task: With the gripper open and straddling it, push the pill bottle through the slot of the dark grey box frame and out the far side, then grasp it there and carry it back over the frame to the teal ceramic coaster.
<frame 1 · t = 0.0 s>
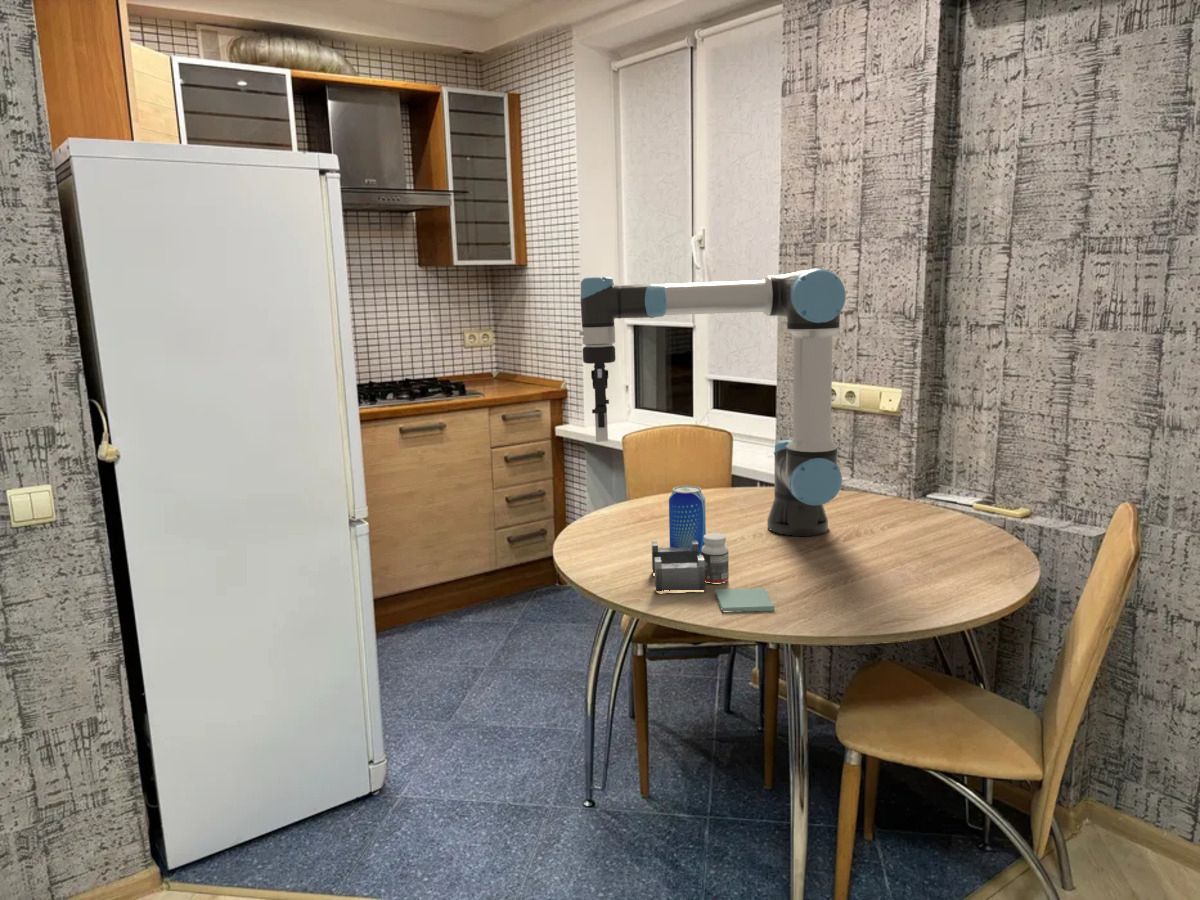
hand: (602, 436, 197), 28 cm above the table, fingers open, 13 cm apart
coaster: (744, 602, 166), on the table
pill bottle: (715, 581, 179), on the table
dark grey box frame: (677, 581, 179), on the table
beer can: (687, 556, 197), on the table
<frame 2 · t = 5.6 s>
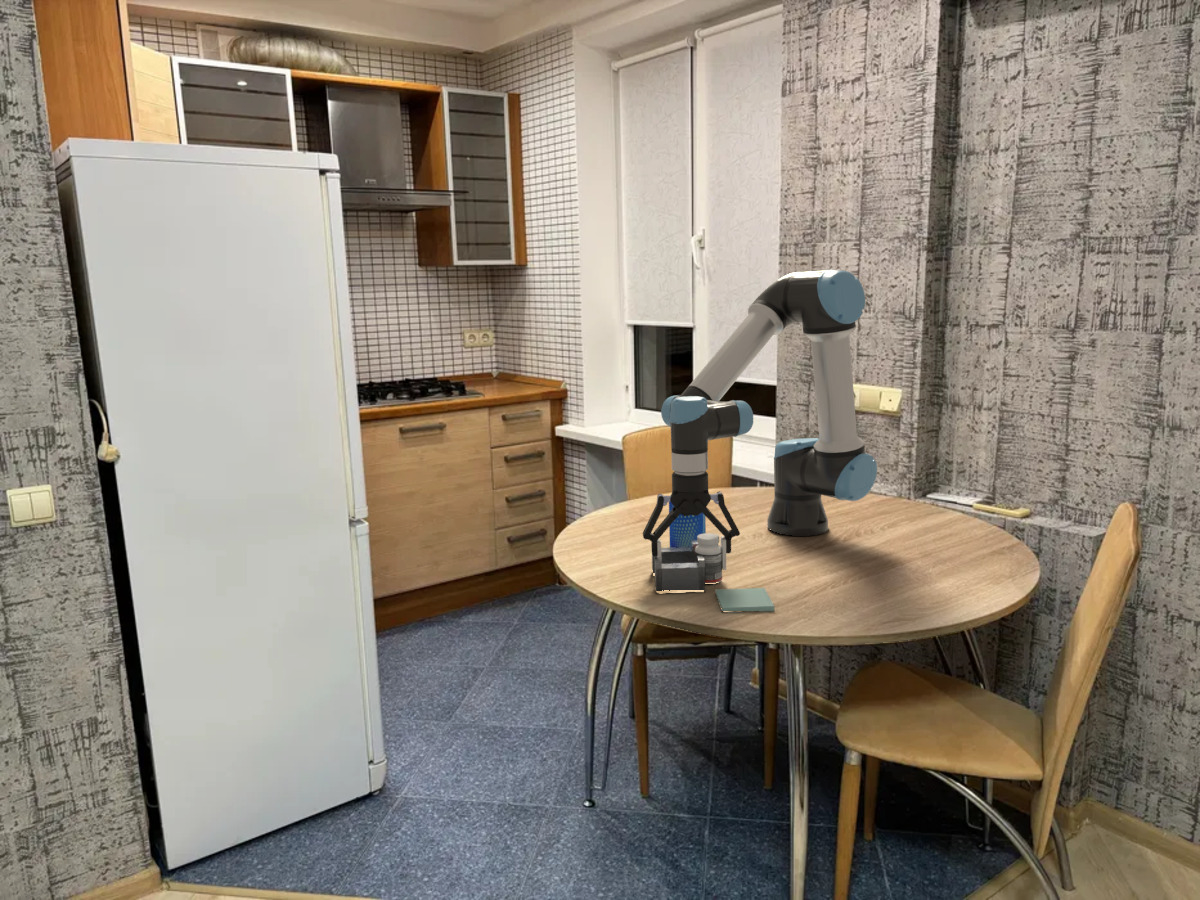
hand: (691, 569, 178), 3 cm above the table, fingers open, 13 cm apart
pill bottle: (708, 581, 179), on the table, touching gripper
everything else where it was.
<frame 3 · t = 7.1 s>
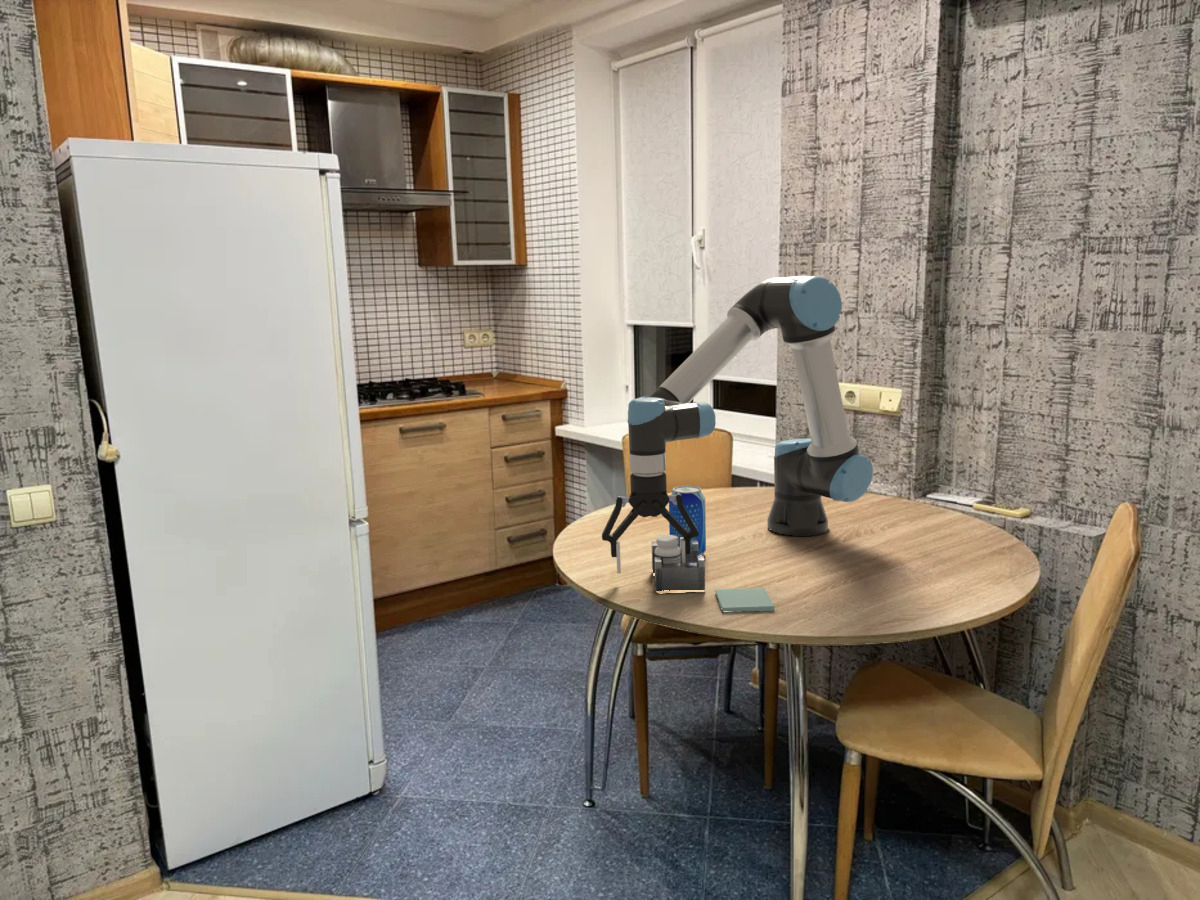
hand: (651, 570, 178), 3 cm above the table, fingers open, 13 cm apart
pill bottle: (668, 583, 179), on the table, touching gripper
everything else where it was.
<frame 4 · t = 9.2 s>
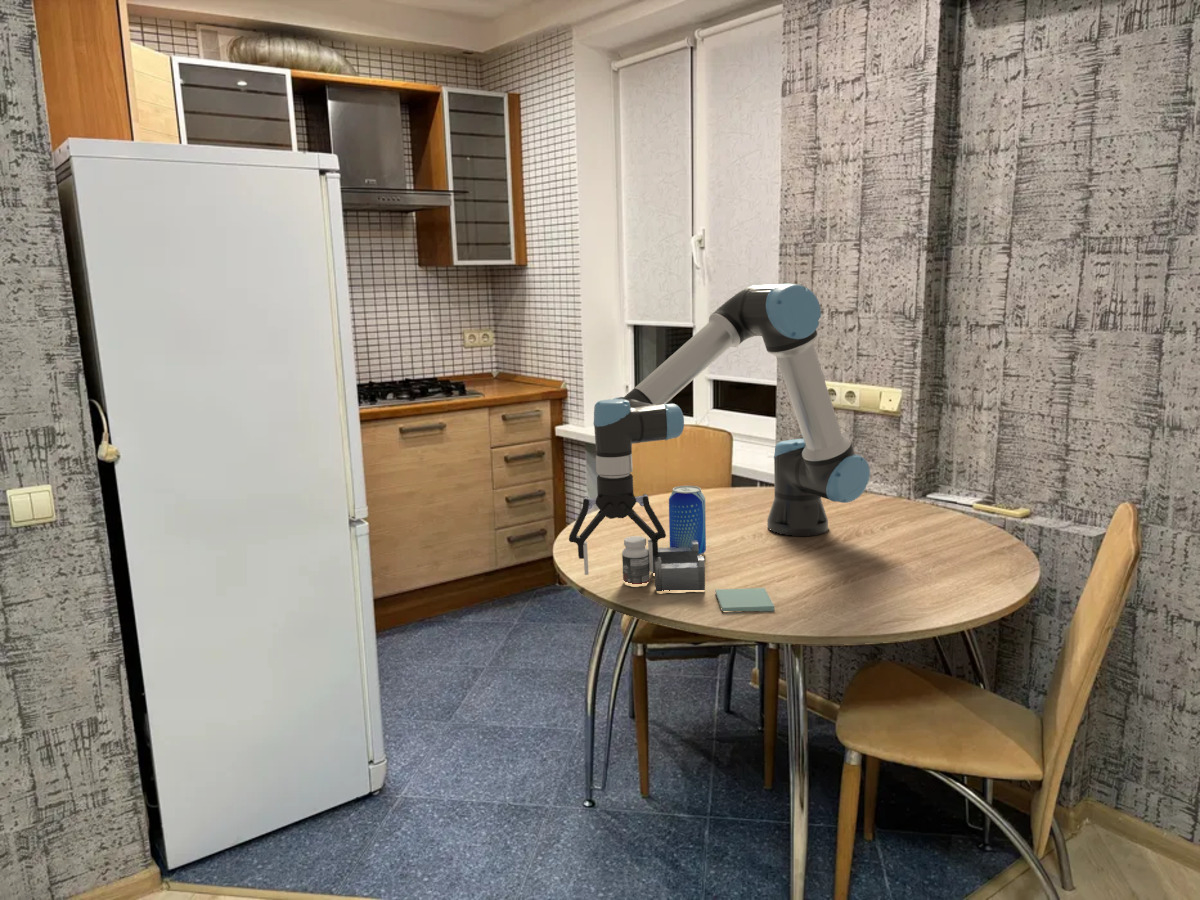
hand: (618, 571, 178), 3 cm above the table, fingers open, 13 cm apart
pill bottle: (636, 584, 179), on the table, touching gripper
everything else where it was.
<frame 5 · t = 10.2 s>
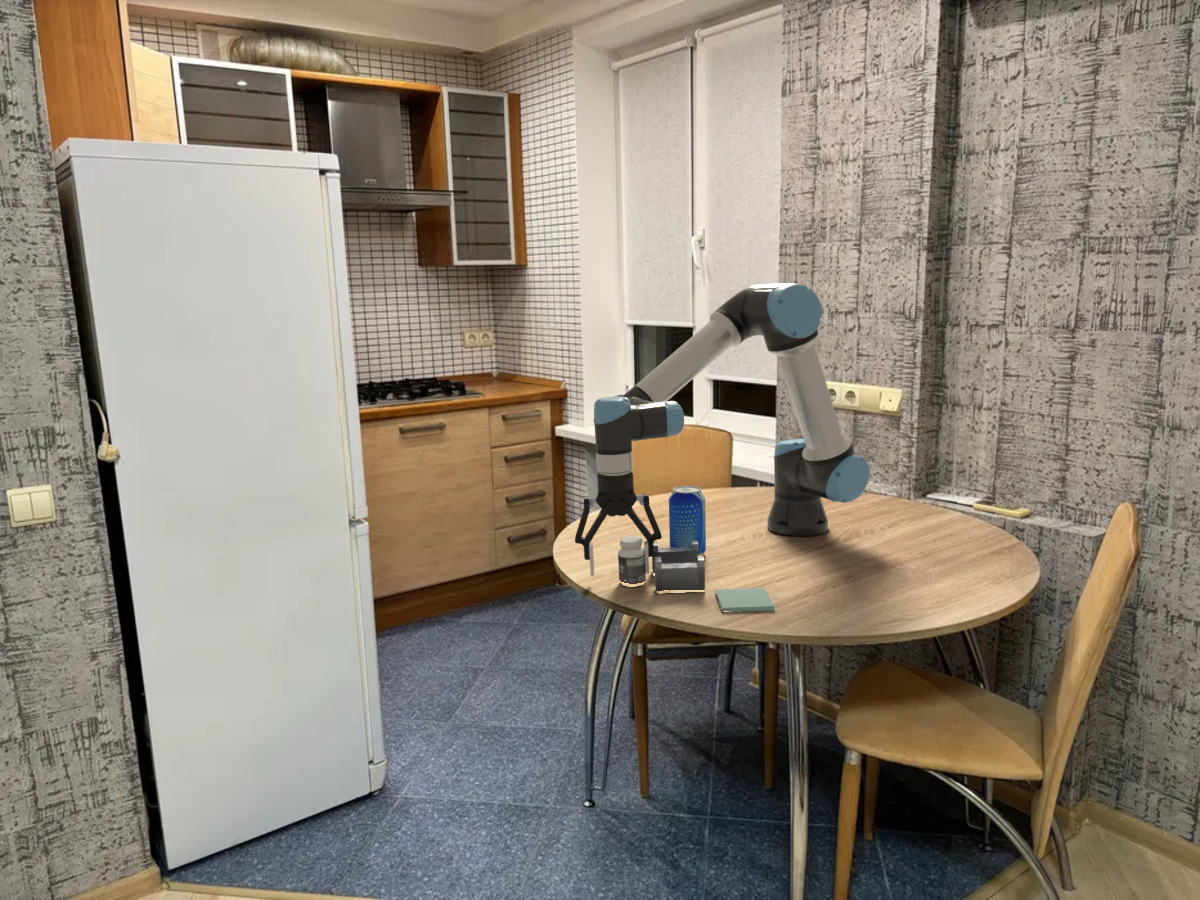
hand: (619, 572, 179), 3 cm above the table, fingers open, 11 cm apart
nothing on the table moved.
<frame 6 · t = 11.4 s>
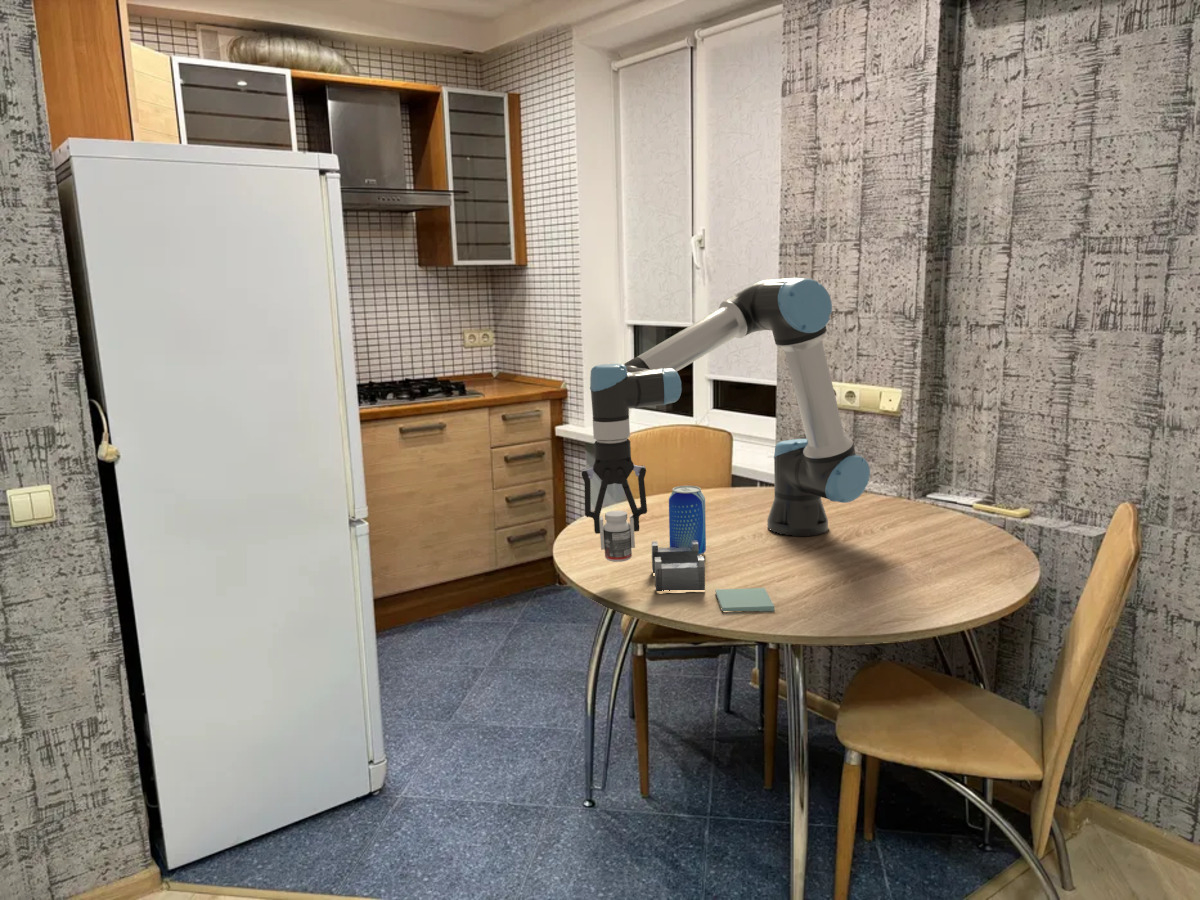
hand: (617, 546, 178), 8 cm above the table, fingers closed on pill bottle, 6 cm apart
pill bottle: (618, 559, 178), point 5 cm above the table, touching gripper
everything else where it was.
when the fingers open (4 cm above the table, at t = 16.1 s): pill bottle stays where it is, resting on coaster.
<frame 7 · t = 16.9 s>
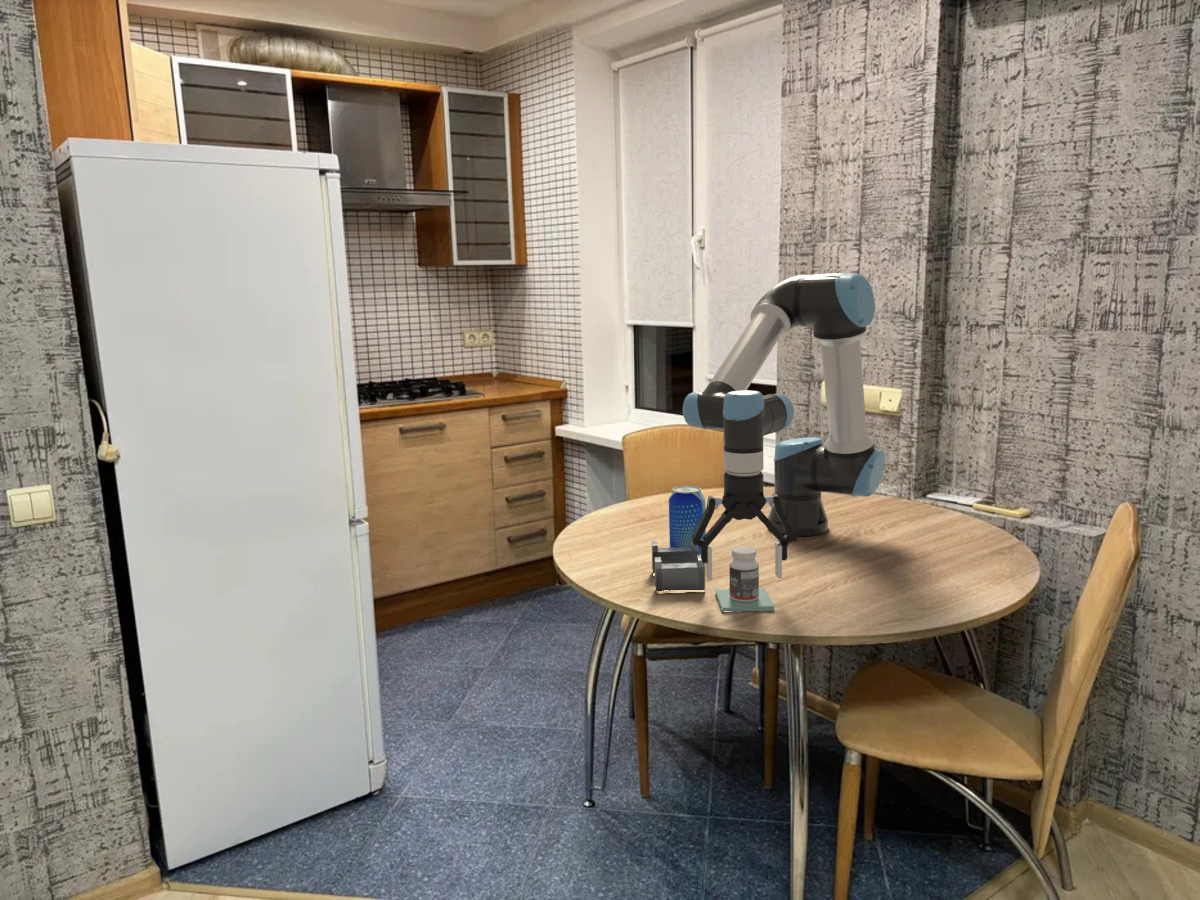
hand: (743, 577, 165), 5 cm above the table, fingers open, 13 cm apart
pill bottle: (744, 598, 166), point 1 cm above the table, touching coaster
everything else where it was.
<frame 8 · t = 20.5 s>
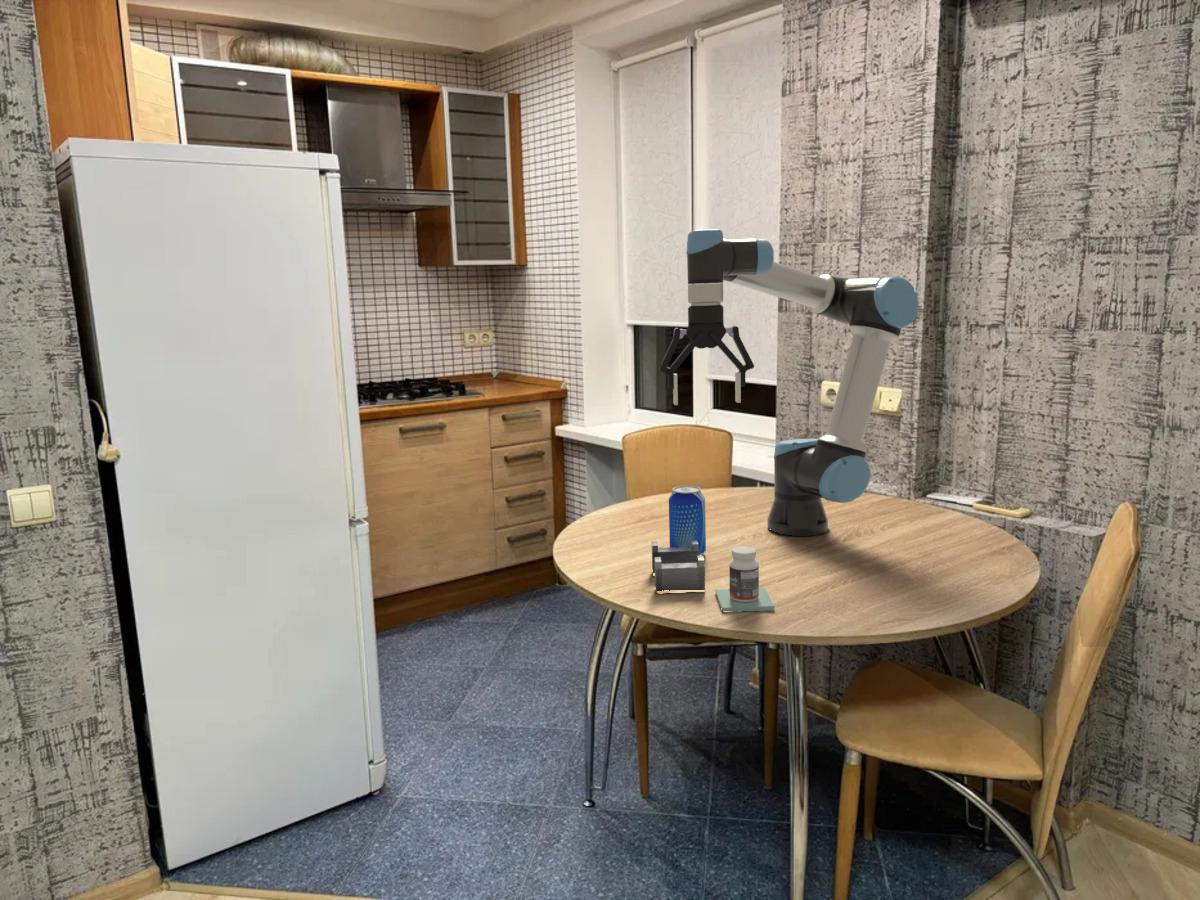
hand: (706, 403, 183), 37 cm above the table, fingers open, 13 cm apart
nothing on the table moved.
at the end: pill bottle inside the target area on the coaster (0.2 cm from its centre), point 0.8 cm above the coaster's base; pill bottle tilted 0°; the gripper is holding nothing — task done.
